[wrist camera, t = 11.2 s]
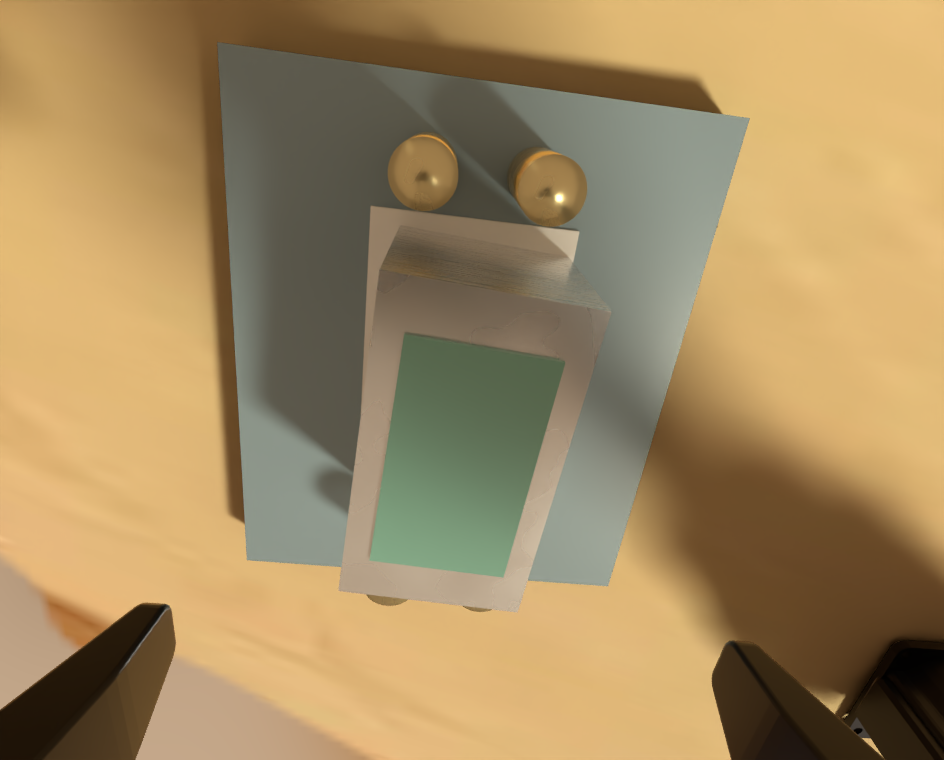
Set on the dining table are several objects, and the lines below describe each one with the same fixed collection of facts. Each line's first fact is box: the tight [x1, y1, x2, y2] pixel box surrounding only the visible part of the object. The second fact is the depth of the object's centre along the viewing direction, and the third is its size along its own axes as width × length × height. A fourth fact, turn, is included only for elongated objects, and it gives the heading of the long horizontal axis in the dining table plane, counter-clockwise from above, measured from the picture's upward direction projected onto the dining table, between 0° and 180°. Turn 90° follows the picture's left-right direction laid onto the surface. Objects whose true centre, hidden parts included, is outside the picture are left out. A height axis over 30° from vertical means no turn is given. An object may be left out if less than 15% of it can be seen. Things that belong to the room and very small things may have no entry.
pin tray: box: [217, 42, 750, 612], centre depth 18 cm, size 14×17×4 cm
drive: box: [339, 225, 612, 612], centre depth 16 cm, size 5×9×5 cm, turn 169°
